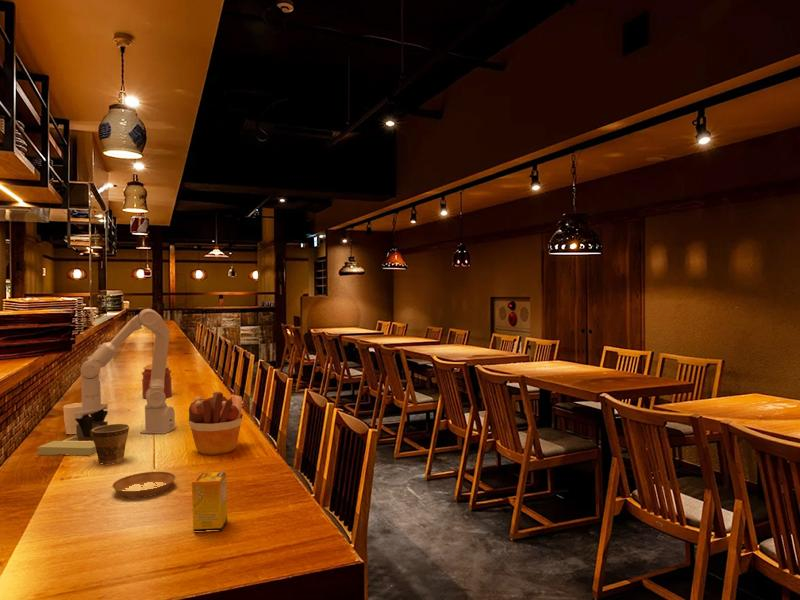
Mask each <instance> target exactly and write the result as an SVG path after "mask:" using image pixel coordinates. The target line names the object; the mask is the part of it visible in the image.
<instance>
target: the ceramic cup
mask: <svg viewBox="0 0 800 600" xmlns="http://www.w3.org/2000/svg"><path fill="white" fill-rule="evenodd" d="M129 429H130V425H129V424H126V423H123V424H122V423H114V424H113V423H112V424H108V425H104V426H100V427H96V428H94V429H91V430H90V436H91V438H92V439H93V441H94V444H95V446H96V451H97V454H96V455H97V459H98V463H99V464H100V463H103V464H102V465H105V464H108V465H113V464H112V463H115V464H118V462H119V463H122V462H123V461H124V457H125V450H126V445H127V440H128V436H129Z"/></svg>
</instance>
